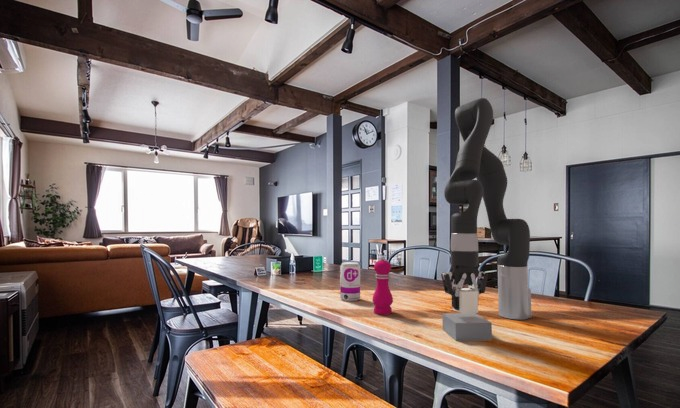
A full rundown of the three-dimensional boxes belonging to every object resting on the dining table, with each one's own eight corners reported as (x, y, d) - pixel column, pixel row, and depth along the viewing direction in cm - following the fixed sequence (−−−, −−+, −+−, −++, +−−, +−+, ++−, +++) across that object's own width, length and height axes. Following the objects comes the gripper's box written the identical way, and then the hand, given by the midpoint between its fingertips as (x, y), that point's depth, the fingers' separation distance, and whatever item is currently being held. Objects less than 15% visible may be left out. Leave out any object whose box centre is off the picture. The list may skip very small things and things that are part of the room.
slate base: (475, 330, 103) (475, 313, 104) (491, 341, 93) (491, 322, 94) (442, 330, 103) (442, 313, 103) (455, 342, 93) (455, 323, 93)
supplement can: (360, 301, 139) (360, 264, 140) (340, 301, 139) (340, 264, 140) (359, 297, 147) (359, 261, 148) (340, 297, 147) (340, 261, 148)
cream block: (468, 308, 102) (467, 288, 102) (478, 312, 97) (478, 291, 97) (452, 309, 101) (452, 288, 101) (462, 313, 96) (461, 291, 96)
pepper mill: (392, 315, 118) (392, 256, 119) (371, 314, 119) (371, 256, 121) (393, 310, 125) (393, 255, 126) (373, 309, 126) (373, 254, 128)
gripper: (478, 248, 105) (479, 304, 104) (435, 248, 102) (435, 307, 101) (494, 249, 98) (495, 311, 97) (448, 250, 94) (449, 313, 93)
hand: (465, 308), depth 99 cm, fingers closed on cream block, 5 cm apart
